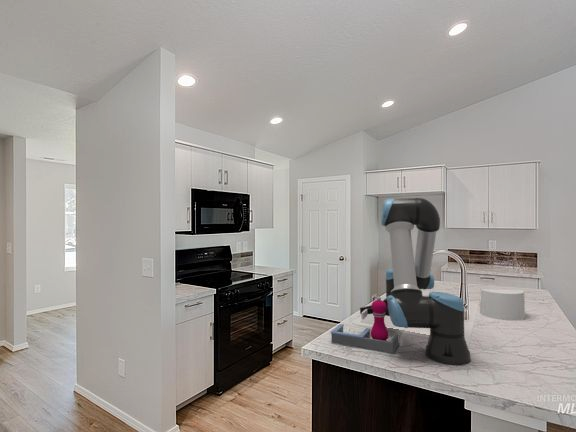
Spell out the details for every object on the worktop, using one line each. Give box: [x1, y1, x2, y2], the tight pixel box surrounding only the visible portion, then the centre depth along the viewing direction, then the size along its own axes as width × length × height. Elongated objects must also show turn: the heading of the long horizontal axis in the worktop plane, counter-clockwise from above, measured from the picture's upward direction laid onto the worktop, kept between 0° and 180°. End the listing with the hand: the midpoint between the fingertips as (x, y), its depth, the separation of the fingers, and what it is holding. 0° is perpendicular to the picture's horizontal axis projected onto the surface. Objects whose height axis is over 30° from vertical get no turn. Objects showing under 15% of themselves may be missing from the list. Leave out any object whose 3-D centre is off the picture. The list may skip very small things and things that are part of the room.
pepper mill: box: [370, 295, 390, 341], centre depth 138 cm, size 7×7×20 cm
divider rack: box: [330, 323, 400, 354], centre depth 140 cm, size 26×12×5 cm, turn 61°
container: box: [479, 288, 526, 322], centre depth 176 cm, size 20×20×13 cm
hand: (378, 318), depth 138 cm, fingers open, 13 cm apart
